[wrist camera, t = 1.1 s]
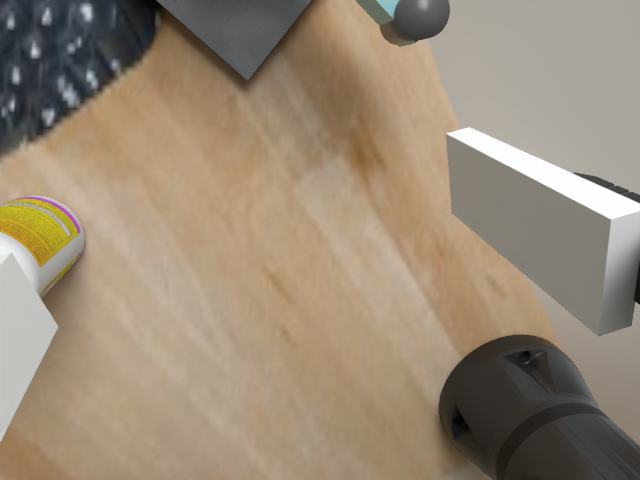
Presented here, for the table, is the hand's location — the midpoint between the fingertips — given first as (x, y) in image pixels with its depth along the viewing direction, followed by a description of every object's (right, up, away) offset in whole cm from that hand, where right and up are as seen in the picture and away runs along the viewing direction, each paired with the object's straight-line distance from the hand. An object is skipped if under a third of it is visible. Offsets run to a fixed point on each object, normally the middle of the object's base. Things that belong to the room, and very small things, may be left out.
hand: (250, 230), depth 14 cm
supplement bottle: (-20, 0, +23) cm, 31 cm away
